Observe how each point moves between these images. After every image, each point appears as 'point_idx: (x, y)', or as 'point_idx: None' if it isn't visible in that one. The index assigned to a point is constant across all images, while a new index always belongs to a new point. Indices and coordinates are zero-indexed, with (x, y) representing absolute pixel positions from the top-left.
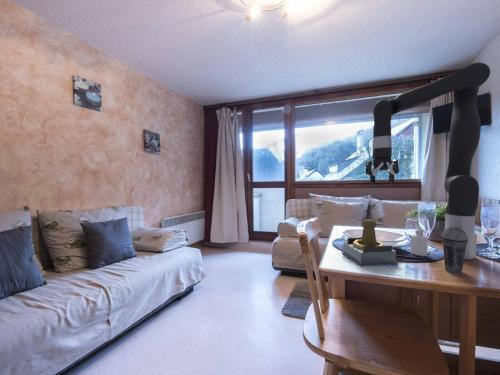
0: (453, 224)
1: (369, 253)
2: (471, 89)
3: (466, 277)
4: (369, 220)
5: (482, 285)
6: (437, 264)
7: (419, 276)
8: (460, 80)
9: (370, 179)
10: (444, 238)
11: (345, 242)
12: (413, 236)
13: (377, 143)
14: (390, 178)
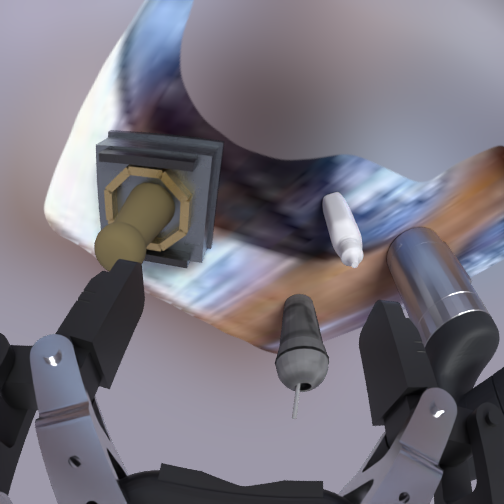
0: (295, 396)
1: None
2: None
3: None
4: (109, 268)
5: (278, 346)
6: (306, 273)
7: (205, 301)
8: None
9: (78, 310)
10: (276, 360)
11: (100, 148)
12: (332, 232)
13: None
14: (379, 370)
